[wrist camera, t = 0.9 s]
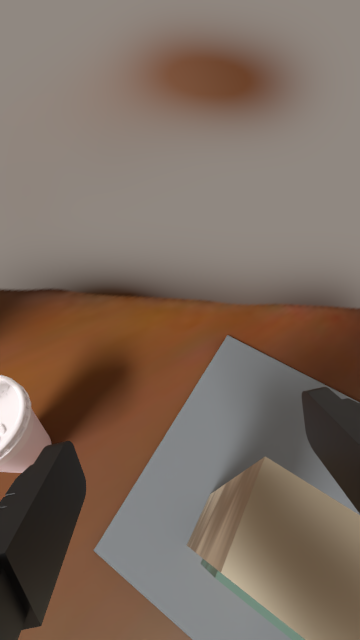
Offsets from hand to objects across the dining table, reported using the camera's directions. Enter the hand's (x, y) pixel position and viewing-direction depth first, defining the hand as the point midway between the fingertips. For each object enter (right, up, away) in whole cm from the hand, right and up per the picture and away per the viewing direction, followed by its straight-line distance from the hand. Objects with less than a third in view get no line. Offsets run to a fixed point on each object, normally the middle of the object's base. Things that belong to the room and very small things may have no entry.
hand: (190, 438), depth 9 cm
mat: (+7, -10, +16) cm, 20 cm away
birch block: (+4, -14, +12) cm, 19 cm away
